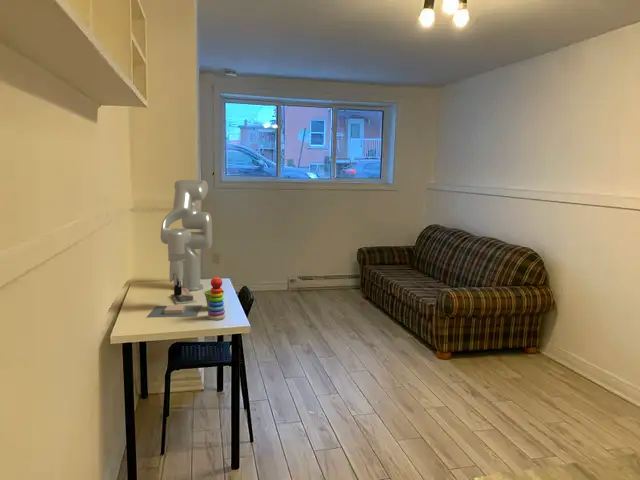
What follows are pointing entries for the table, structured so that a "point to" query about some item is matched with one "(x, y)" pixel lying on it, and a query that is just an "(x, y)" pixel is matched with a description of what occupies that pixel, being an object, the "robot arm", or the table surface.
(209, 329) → the table surface
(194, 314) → the mat
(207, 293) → the plant pot
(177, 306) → the tile
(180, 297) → the packaged product
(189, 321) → the table surface
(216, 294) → the stacking toy
